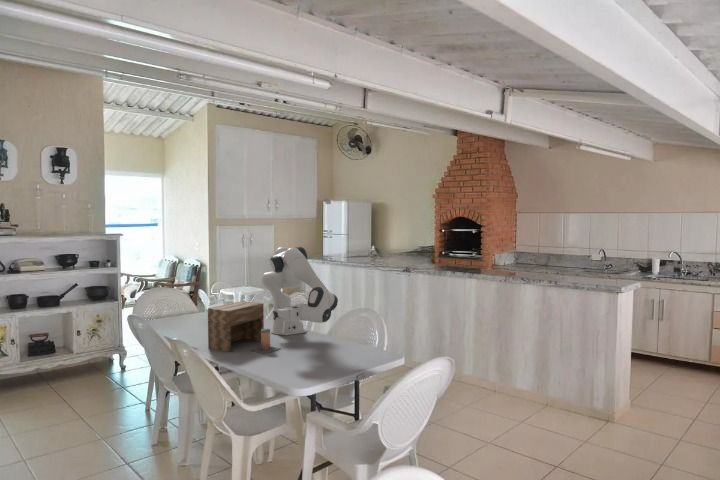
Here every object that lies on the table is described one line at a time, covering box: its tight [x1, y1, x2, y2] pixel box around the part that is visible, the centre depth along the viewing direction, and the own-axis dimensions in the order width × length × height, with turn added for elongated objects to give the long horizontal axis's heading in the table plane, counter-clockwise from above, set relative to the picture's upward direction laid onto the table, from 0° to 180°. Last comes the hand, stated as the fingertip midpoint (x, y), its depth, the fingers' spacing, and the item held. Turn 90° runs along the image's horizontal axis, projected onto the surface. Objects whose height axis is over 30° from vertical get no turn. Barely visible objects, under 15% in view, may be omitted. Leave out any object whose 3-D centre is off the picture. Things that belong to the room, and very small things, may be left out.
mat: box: [249, 345, 282, 355], centre depth 286 cm, size 12×12×1 cm
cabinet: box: [207, 300, 265, 353], centre depth 296 cm, size 16×28×22 cm, turn 149°
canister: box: [260, 328, 271, 351], centre depth 285 cm, size 5×5×11 cm
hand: (282, 308), depth 278 cm, fingers open, 8 cm apart
